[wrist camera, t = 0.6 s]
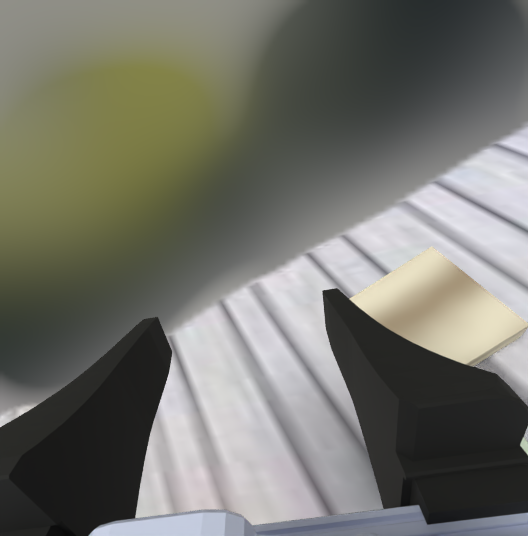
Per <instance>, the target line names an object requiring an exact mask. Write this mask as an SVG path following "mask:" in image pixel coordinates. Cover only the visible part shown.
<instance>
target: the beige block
mask: <svg viewBox="0 0 528 536" xmlns="http://www.w3.org/2000/svg"><path fill="white" fill-rule="evenodd" d="M350 300H351V301H352V302H353V303H354V304H356V305H357V306H358V307H359V308H360V309H362V310H363V311H364V312H365V313H367V314H368V315H369V316H371V317H372V318H373V319H375V320H376V321H377V322H379V323H380V324H382V325H383V326H385V327H386V328H388V329H390V330H391V331H393V332H395V333H396V334H398V335H400V336H402V337H403V338H405V339H407V340H409V341H411V342H413V343H415V344H417V345H419V346H421V347H423V348H426V349H428V350H430V351H432V352H435V353H437V354H439V355H442V356H444V357H447V358H449V359H452V360H455V361H457V362H460V363H463V364H466V365H469V366H472V367H473V366H474V365H476V364H478V363H479V362H481V361H483V360H484V359H486V358H488V357H489V356H491V355H492V354H494V353H496V352H497V351H499V350H501V349H502V348H504V347H505V346H507V345H509V344H510V343H512V342H514V341H515V340H517V339H519V338H520V337H521V335H522V334H523V333H524V332H525V330H526V329H527V328H528V323H527V322H526V321H524V320H523V319H522V318H521V317H519V316H518V315H517V314H516V313H514V312H513V311H512V310H511V309H509V308H508V307H507V306H506V305H504V304H503V303H502V302H501V301H499V300H498V299H497V298H496V297H494V296H493V295H492V294H491V293H489V292H488V291H487V290H486V289H484V288H483V287H482V286H481V285H479V284H478V283H477V282H476V281H474V280H473V279H472V278H471V277H469V276H468V275H467V274H466V273H464V272H463V271H462V270H461V269H459V268H458V267H457V266H456V265H454V264H453V263H452V262H451V261H449V260H448V259H447V258H446V257H444V256H443V255H442V254H441V253H439V252H438V251H437V250H436V249H434V248H433V247H430V248H429V249H427V250H426V251H424V252H422V253H421V254H419V255H418V256H416V257H415V258H413V259H411V260H410V261H408V262H407V263H405V264H403V265H402V266H400V267H399V268H397V269H396V270H394V271H392V272H391V273H389V274H388V275H386V276H385V277H383V278H381V279H380V280H378V281H377V282H375V283H374V284H372V285H370V286H369V287H367V288H366V289H364V290H363V291H361V292H359V293H358V294H356V295H355V296H353V297H352V298H350Z"/></svg>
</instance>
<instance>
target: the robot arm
mask: <svg viewBox="0 0 528 536" xmlns="http://www.w3.org/2000/svg"><path fill="white" fill-rule="evenodd" d="M323 302H324V313H325V324H326V331H327V334H328V338H329V342H330V345H331V349H332V351H333V354H334V356H335V359H336V361H337V364H338V366H339V368H340V371H341V373H342V376H343V378H344V380H345V383H346V385H347V388H348V390H349V393H350V395H351V398H352V401H353V403H354V406H355V410H356V413H357V416H358V419H359V423H360V426H361V429H362V433H363V436H364V440H365V443H366V446H367V450H368V453H369V457H370V460H371V464H372V468H373V471H374V475H375V478H376V482H377V485H378V489H379V493H380V496H381V500H382V504H383V508H384V509H381V510H373V511H365V512H357V513H349V514H341V515H333V516H325V517H317V518H309V519H301V520H292V521H284V522H276V523H268V524H260V525H251V524H250V523H249V522H248V521H247V520H246V519H245V518H244V517H243V516H242V515H241V514H238V513H234V512H231V511H228V510H197V511H190V512H182V513H174V514H166V515H158V516H150V517H143V518H135V515H136V508H137V502H138V495H139V489H140V482H141V477H142V472H143V466H144V461H145V455H146V451H147V446H148V441H149V436H150V432H151V429H152V425H153V421H154V418H155V415H156V412H157V409H158V406H159V403H160V400H161V397H162V393H163V390H164V387H165V384H166V381H167V377H168V374H169V369H170V363H171V357H172V350H171V348H170V345H169V343H168V341H167V338H166V336H165V334H164V331H163V329H162V326H161V324H160V322H159V319H158V317H155V318H148V319H144V320H142V321H141V322H140V323H139V324H138V325H136V326H135V327H134V328H133V329H132V330H131V331H130V332H129V333H128V334H127V335H126V336H125V337H123V338H122V339H121V340H120V341H119V342H118V343H117V344H116V345H115V346H114V347H113V348H112V349H111V350H109V351H108V352H107V353H106V354H105V355H104V356H103V357H101V358H100V359H99V360H98V361H97V362H96V363H94V364H93V365H92V366H91V367H90V368H89V369H87V370H86V371H85V372H84V373H83V374H81V375H80V376H79V377H77V378H76V379H75V380H74V381H72V382H71V383H69V384H68V385H67V386H65V387H64V388H63V389H61V390H60V391H58V392H57V393H55V394H54V395H52V396H51V397H49V398H48V399H46V400H45V401H43V402H42V403H40V404H39V405H37V406H36V407H34V408H32V409H31V410H29V411H28V412H26V413H24V414H23V415H21V416H19V417H18V418H16V419H14V420H12V421H11V422H9V423H7V424H5V425H4V426H2V427H0V536H528V455H527V453H526V452H525V451H524V450H523V448H522V447H521V446H520V444H521V441H522V439H523V436H524V434H525V431H526V429H527V426H528V406H527V405H526V404H525V403H524V402H523V401H522V400H521V399H520V397H519V396H518V395H517V394H516V393H515V392H514V391H513V390H512V389H511V387H510V386H509V385H508V384H506V383H505V382H504V381H503V380H502V379H501V378H500V377H499V376H498V375H497V374H495V373H491V372H488V371H485V370H482V369H479V368H476V367H472V366H469V365H466V364H463V363H460V362H457V361H455V360H452V359H449V358H447V357H444V356H442V355H439V354H437V353H435V352H432V351H430V350H428V349H426V348H423V347H421V346H419V345H417V344H415V343H413V342H411V341H409V340H407V339H405V338H403V337H402V336H400V335H398V334H396V333H395V332H393V331H391V330H390V329H388V328H386V327H385V326H383V325H382V324H380V323H379V322H377V321H376V320H375V319H373V318H372V317H371V316H369V315H368V314H367V313H365V312H364V311H363V310H362V309H360V308H359V307H358V306H357V305H356V304H354V303H353V302H352V301H351V300H350V299H349V298H347V297H346V296H345V295H344V294H343V293H342V292H341V291H340V290H338V289H337V288H336V289H330V290H323Z"/></svg>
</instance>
